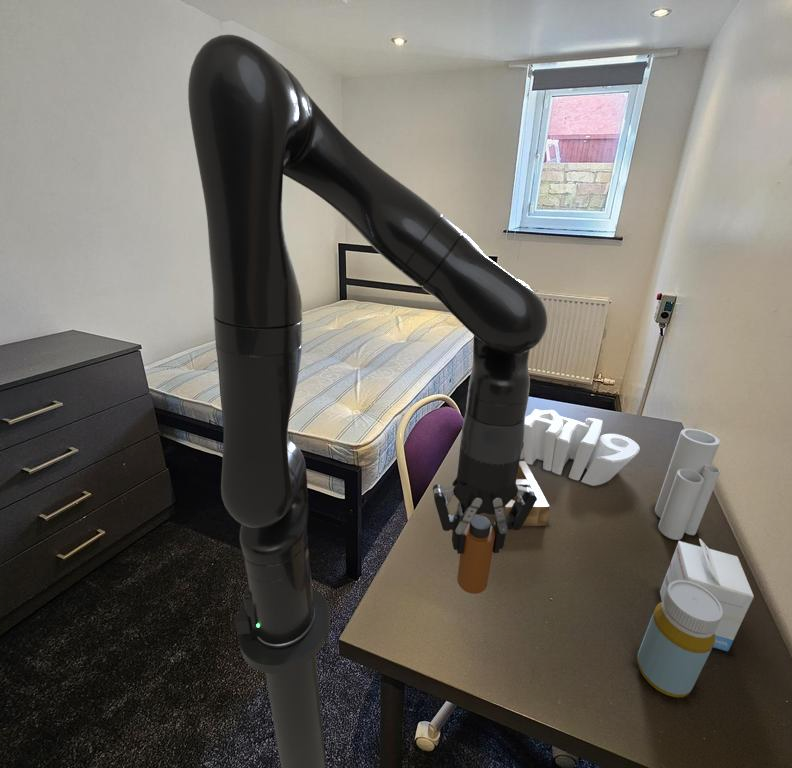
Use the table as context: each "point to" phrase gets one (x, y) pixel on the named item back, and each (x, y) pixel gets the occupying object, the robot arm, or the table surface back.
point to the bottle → (679, 638)
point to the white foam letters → (575, 446)
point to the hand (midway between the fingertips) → (476, 548)
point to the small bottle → (476, 555)
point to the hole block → (541, 505)
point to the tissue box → (714, 584)
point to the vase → (688, 484)
